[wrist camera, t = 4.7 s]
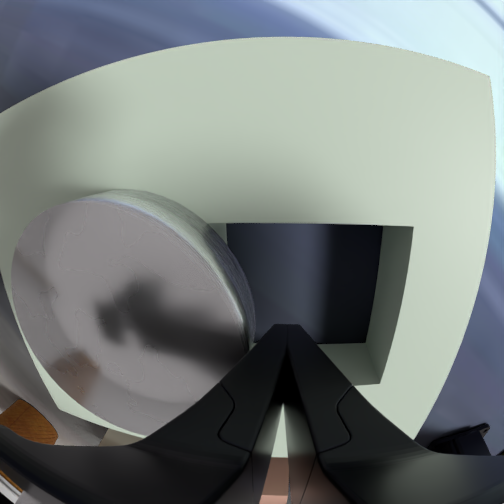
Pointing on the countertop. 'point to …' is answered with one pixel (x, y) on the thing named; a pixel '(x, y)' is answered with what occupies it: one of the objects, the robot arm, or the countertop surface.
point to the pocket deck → (287, 177)
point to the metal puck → (131, 305)
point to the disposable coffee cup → (29, 427)
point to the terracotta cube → (276, 482)
